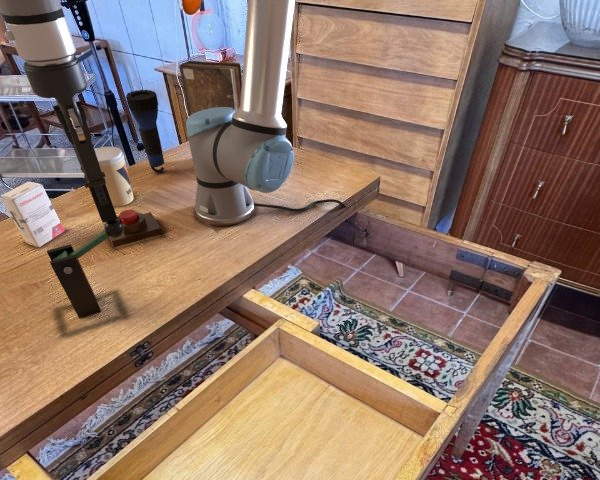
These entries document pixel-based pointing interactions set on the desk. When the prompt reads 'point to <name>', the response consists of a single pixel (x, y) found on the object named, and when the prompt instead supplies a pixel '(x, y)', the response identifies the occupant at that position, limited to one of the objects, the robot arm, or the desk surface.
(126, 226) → the button block
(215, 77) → the book
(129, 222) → the button
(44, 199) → the ink box
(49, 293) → the desk surface
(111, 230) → the lever
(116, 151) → the coffee cup
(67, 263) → the bracket
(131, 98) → the flashlight
